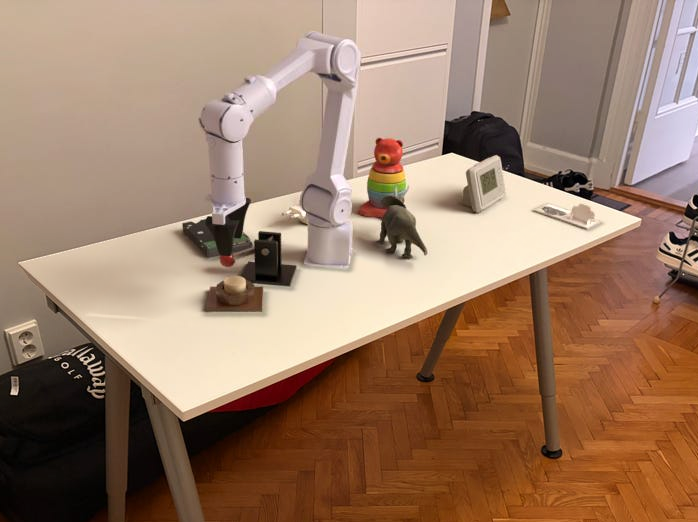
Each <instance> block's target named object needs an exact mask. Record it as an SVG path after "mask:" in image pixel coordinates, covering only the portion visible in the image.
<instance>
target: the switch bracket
mask: <svg viewBox="0 0 698 522" xmlns="http://www.w3.org/2000/svg"><path fill="white" fill-rule="evenodd" d="M257 235H258V239H254V241H253V247H254V254H253V255H254V261H247V263H246V265H245V267H244V268H243V271H242V273H241V276H240V277H243V278H245V280H248V281H250V282H251V283H252V284H257V285H267V286H268V285H269V286H283V287H291V285H292V282H293V279H294V277H295V275H296V272H297V265H296V264H295V265H294V264H285V263H282V262H283V260H282V255H283V254H282V232H276V231H265V230H259V231H258V233H257ZM271 236H273V237H274V239H275V241H268V240H262V239H265V238H268V237H271Z"/></svg>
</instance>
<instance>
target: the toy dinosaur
mask: <svg viewBox="0 0 698 522" xmlns="http://www.w3.org/2000/svg"><path fill="white" fill-rule="evenodd" d="M397 186H398V184H397V185H396V187H395V189H394V196H393V195H392V196H390V195H388V196H384V197H382V199H381V201H380V204H381V206H382V207H385V208H387V207H389V208H388V209H387V211H386V212H385V214H384V215H383V217H382V218H381V222H380V232H379V239H378V240H376V241H375V243H376V244H377V245H384V243H385V240H386V238H387V240H388V243H389V245H390V247H388V248H386V249H385V251H386V253H387V254H395V253H396V250H397V248H398V245H397V243H398V244H399V243H400V244H401V243H404V244H405V245H404V246H405V247H404V250H403V253H402V254H401V255H400V256H401V257H402V258H407V259H413V255H412V245H414V246H415V247H417V248H419V249H420V250H421V252H422V253H423V256H427V255H428V249H427V247H426V245H425V244H424V242H423V240H422V238H421V237H420V235H419V232H418V230H417V228H416V227H417V221H416V217H415V215H414V214H413V213H411V212H410V210H408V209H407V206H406V204H405V196H406V194H407V193H408V192H409V188H410V185H407V186H406V190H405V191H404V192H403V193H402V194H401V196H400V197H398V196H397Z"/></svg>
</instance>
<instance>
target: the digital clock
mask: <svg viewBox="0 0 698 522" xmlns="http://www.w3.org/2000/svg"><path fill="white" fill-rule="evenodd" d="M501 159H502V158H501V156H498V154H495V155H492V156H490V157H489V156H488V157H487V158H485V159H483V160H481V161H479V162H478V163H476V164H474V165H472V166H471V167H469V168H468V169H467V170H466V171H465V178H466V183H467V185H466V186H464V187H463V190H462V196H461V198H462V199H461V205H464V206H466V207H469V208H471V209H472V211H473V212H474V213H481V212H482V211H485V210H487V209H488V208H490V207H492V206H493V205H495V204H497V203H498V202H499V200H501V199H502V198H504V197H505V196H506V195H507V189H506V183H505V177H504V171H503V165H502V160H501Z"/></svg>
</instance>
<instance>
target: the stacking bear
mask: <svg viewBox="0 0 698 522" xmlns="http://www.w3.org/2000/svg"><path fill="white" fill-rule="evenodd" d="M374 141H375V147H374V149H373V156H374V159H375V162H374V163H373V164H372V165H371V167H370V170H369V172H368V177H367V180H366V193H367V196H368V200H367V201H365V202H363V203H362V204H361V205H360V206H359V208H358V211H357V212H358V214H359V215H361V216H364V217H376V218H380V219H382V217H383V215H384V214H385V212H386V211H387V209H388V208H389V207H387V208H385V207H382V206H381V204H380V201H381V199H382V197H384V196H388V195H390V196H392V195H393V196H394V189H395V187H396V185H397V184H398V186H397V196H398V197H400V196H401V194H402V193H403V192H404V191H405V190H406V189H407V179H406V173H405V169H404V166H403V165H402V163H401V160H402V157H403V146H404V142H403V141H402V140H400V139H397V140H396V139H394V138H382V137H377V138H375V140H374Z"/></svg>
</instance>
